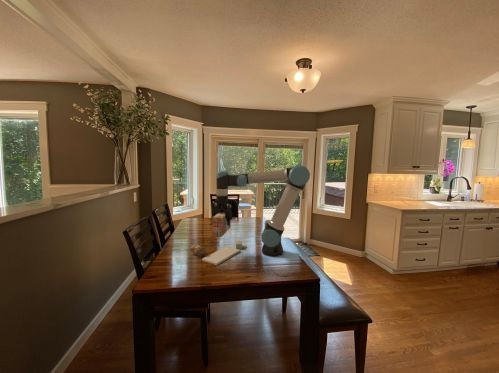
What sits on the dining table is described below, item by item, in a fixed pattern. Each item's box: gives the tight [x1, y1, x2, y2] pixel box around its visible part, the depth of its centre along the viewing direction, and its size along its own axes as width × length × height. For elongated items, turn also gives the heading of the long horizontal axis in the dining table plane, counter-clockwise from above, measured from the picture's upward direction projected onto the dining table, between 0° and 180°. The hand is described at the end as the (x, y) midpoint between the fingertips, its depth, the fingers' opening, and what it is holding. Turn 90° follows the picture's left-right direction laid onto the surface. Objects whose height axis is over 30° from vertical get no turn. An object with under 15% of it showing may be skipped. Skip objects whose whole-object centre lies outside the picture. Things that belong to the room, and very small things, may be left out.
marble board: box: [201, 246, 241, 266], centre depth 154 cm, size 12×26×1 cm, turn 149°
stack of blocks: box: [212, 212, 232, 238], centre depth 152 cm, size 21×6×12 cm, turn 170°
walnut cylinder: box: [198, 245, 206, 259], centre depth 153 cm, size 4×4×6 cm
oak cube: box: [189, 244, 201, 256], centre depth 157 cm, size 5×5×5 cm
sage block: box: [235, 240, 243, 250], centre depth 170 cm, size 4×7×4 cm, turn 179°
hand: (222, 228), depth 152 cm, fingers closed on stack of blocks, 8 cm apart
